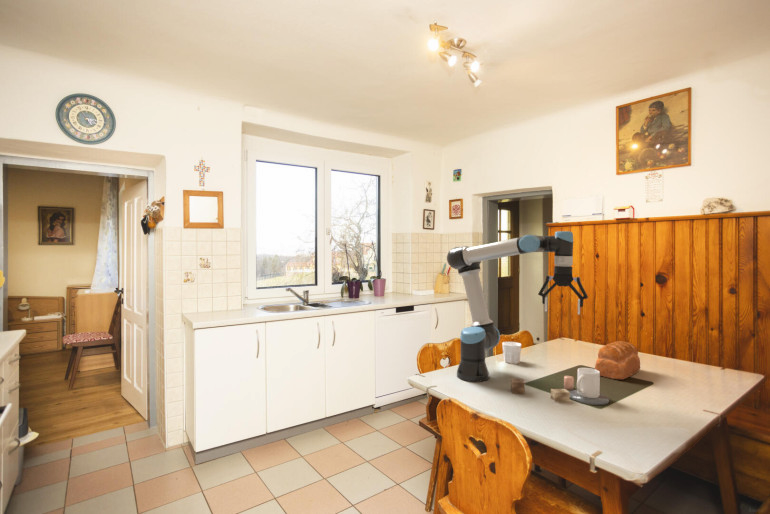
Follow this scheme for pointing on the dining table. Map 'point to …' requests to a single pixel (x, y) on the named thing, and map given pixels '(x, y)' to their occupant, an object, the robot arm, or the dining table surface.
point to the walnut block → (517, 386)
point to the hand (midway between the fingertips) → (562, 312)
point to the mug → (588, 382)
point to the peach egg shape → (569, 382)
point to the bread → (618, 360)
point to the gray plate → (589, 399)
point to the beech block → (560, 395)
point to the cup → (511, 352)
